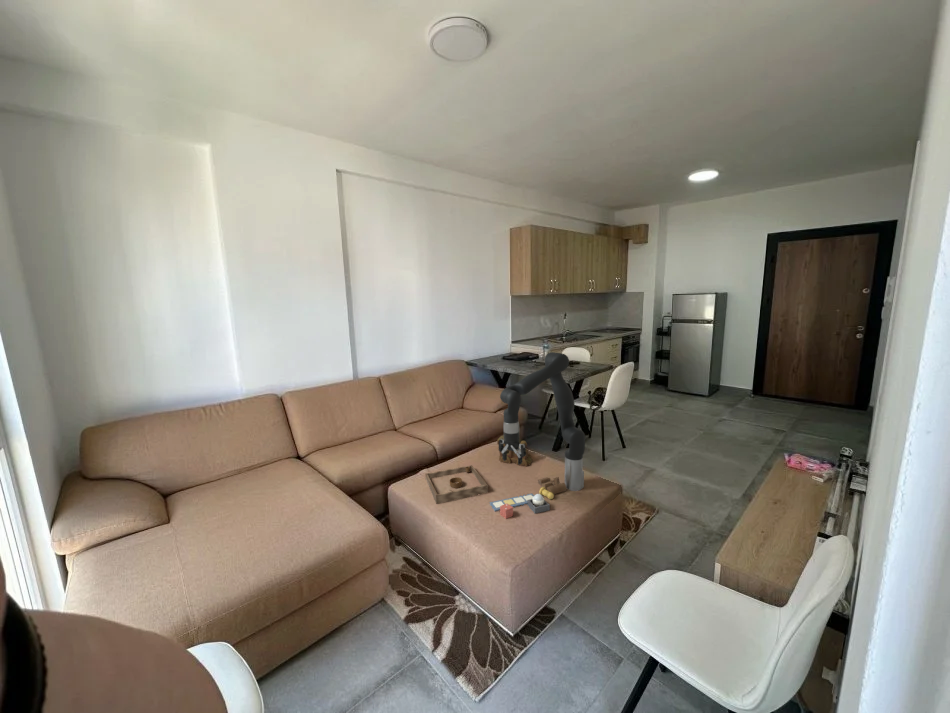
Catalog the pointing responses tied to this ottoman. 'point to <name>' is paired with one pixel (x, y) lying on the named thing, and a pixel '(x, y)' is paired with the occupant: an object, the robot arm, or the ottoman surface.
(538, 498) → the dome
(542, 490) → the pawn
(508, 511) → the die
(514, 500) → the board
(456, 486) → the place setting
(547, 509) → the base
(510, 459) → the wooden toy train
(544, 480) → the wooden block set
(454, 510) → the ottoman surface
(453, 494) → the serving frame
